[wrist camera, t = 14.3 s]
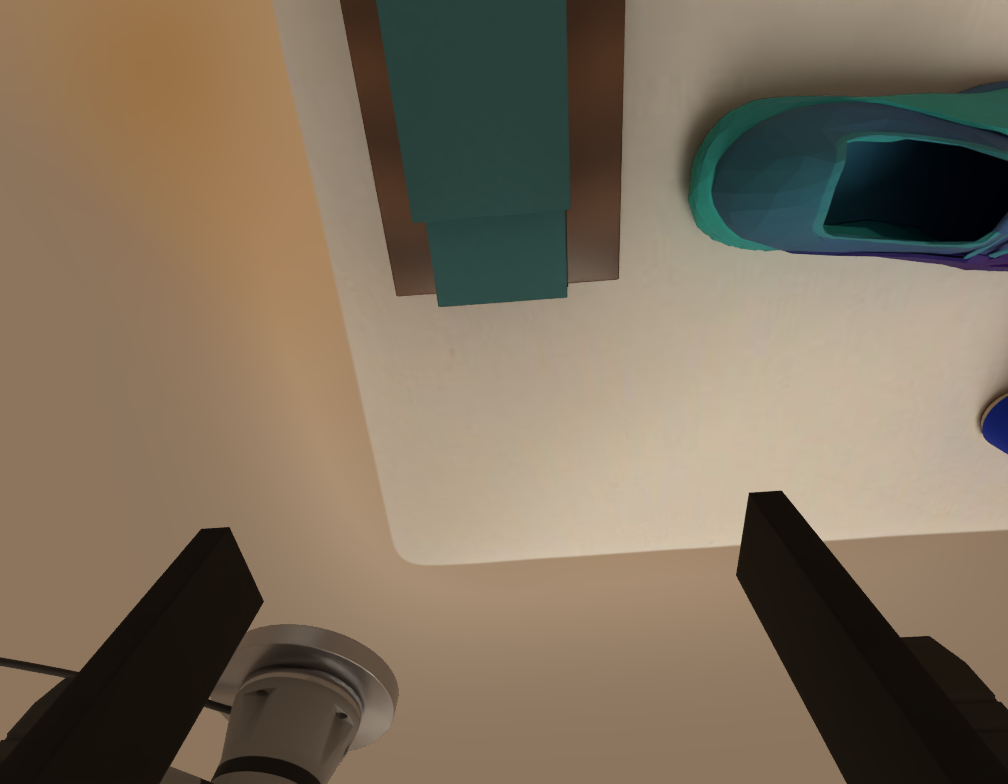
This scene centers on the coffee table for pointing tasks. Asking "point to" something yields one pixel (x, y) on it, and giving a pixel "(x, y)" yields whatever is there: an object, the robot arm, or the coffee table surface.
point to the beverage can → (996, 423)
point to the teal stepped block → (484, 141)
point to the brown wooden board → (591, 143)
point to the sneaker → (861, 177)
